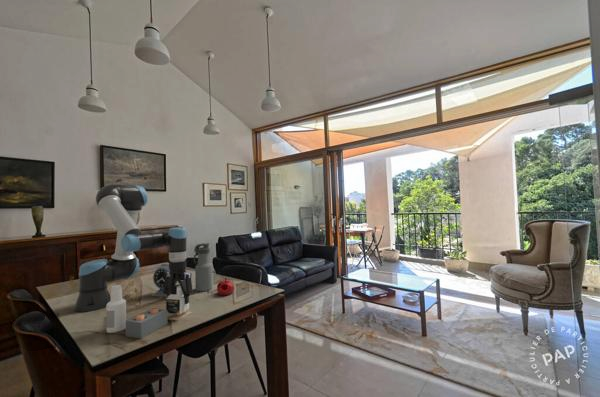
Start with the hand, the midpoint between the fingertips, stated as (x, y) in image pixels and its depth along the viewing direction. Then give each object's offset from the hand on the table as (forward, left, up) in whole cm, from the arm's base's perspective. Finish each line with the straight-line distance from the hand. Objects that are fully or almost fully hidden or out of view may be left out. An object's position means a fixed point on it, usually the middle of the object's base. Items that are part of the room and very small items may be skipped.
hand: (178, 309), depth 122 cm
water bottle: (-14, +37, -3) cm, 40 cm away
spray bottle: (-15, -18, -3) cm, 24 cm away
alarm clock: (-31, +25, -3) cm, 40 cm away
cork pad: (0, -1, -3) cm, 3 cm away
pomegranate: (+4, +33, -3) cm, 33 cm away
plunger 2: (-2, -11, -1) cm, 12 cm away
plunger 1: (-2, -18, -1) cm, 19 cm away
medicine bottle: (0, 0, -1) cm, 1 cm away
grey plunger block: (-2, -15, -3) cm, 15 cm away
